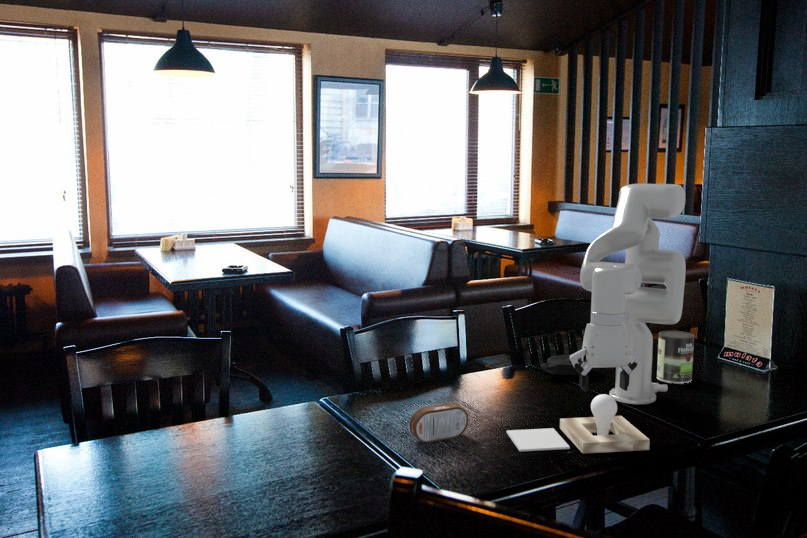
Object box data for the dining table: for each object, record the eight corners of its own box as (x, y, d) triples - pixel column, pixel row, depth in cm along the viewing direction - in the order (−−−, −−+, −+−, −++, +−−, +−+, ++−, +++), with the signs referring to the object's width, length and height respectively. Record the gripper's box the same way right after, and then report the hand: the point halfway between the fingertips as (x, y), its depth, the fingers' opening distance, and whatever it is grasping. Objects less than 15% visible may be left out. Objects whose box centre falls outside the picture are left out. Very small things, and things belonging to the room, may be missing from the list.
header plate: (620, 425, 186) (621, 415, 186) (649, 449, 170) (649, 439, 170) (559, 428, 184) (560, 418, 184) (582, 453, 168) (583, 443, 168)
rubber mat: (553, 430, 183) (553, 428, 183) (569, 448, 171) (569, 446, 171) (506, 432, 182) (506, 430, 181) (519, 451, 170) (519, 449, 170)
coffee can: (699, 381, 222) (702, 335, 220) (675, 386, 217) (677, 339, 215) (673, 372, 231) (675, 328, 229) (649, 377, 226) (651, 332, 224)
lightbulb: (613, 434, 180) (615, 391, 178) (618, 443, 174) (619, 399, 172) (587, 433, 181) (589, 390, 179) (591, 443, 175) (593, 398, 173)
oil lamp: (525, 373, 231) (525, 358, 230) (569, 363, 242) (570, 348, 241) (559, 385, 219) (560, 369, 218) (604, 374, 230) (605, 359, 229)
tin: (464, 432, 182) (464, 399, 181) (470, 436, 179) (470, 403, 178) (408, 442, 176) (408, 408, 175) (414, 446, 173) (414, 412, 172)
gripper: (635, 315, 177) (631, 384, 180) (566, 316, 175) (563, 386, 178) (649, 321, 170) (645, 393, 172) (577, 322, 168) (574, 395, 170)
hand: (603, 389), depth 175 cm, fingers open, 9 cm apart
